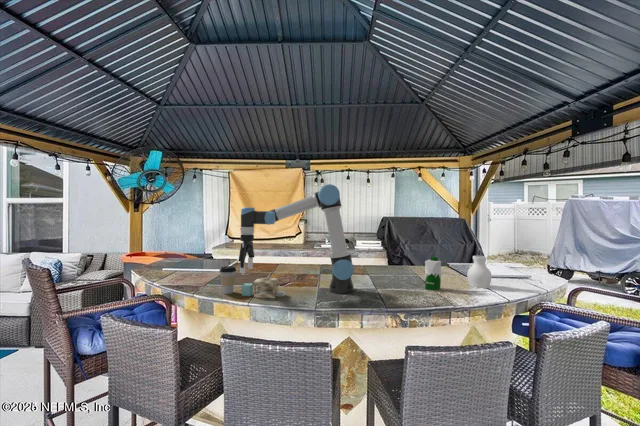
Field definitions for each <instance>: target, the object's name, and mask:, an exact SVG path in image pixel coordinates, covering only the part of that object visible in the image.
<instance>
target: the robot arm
mask: <svg viewBox="0 0 640 426" xmlns="http://www.w3.org/2000/svg"><path fill="white" fill-rule="evenodd" d="M340 195H341V193H340V190H339V188H338V187H337V186H336V185H335V184H330V183H329V184H328V183H327V184H324V185H322V186H321V187H320V188H319V190H318V191H316V192H315V193H313V195H310V196H307V197H305V198H302V199H300V200H296V201H294V202H291V203H288V204H285V205H283V206H279V207H277V208H272V209H271V210H268V211H266V210H265V211H264V210H259V211H257V210H255V207H247V206H245V207H241V209H240V210H241V211H240V228H239V230H240V236H239V237H240V239H239V240H240V241H241V242H242V243H241V244H240V249H239V255H238V260H237V261H238V262H239V274H246V261H245V260H246V258H247V255H248V258H247V269H248V270H250V269H251V270H253V267H254V258H255V251H254V242H253V241H254V240H255V235H254V234H255V225H275V223H276V222H278V221H281V220H283V219H286V218H289V217H292V216H295V215H298V214H301V213H304V212H307V211H309V210H312V209H315V208H320V209H321V211H322V212H324V217H325V220H326V221H325V222H326V227H327V231H328V237H329V242H330V247H331V255H330V262H331V267H332V271H331V272H332V273H331V280H330V284H329V287H328V289H329V292H331V293H333V294H339V295H340V294H351V293H353V292H354V291H355V288H354V283H353V280H352V276H353V274H354V271H355V267H354V264H353V261H352V254H351V252H349V251H348V248H347V243H346V238H345V231H344V227H343V221H342V216H341V211H340V209H341V208H342V202H341V196H340Z"/></svg>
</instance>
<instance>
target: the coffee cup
mask: <svg viewBox="0 0 640 426" xmlns="http://www.w3.org/2000/svg"><path fill="white" fill-rule="evenodd" d="M236 271H237V268H236V267H235V266H233V265H228V266H227V265H226V266H221V267H220V269H219V273H220V282H221V290H222V294H224V295H230V294H234V288H235V283H236V282H235V280H236Z"/></svg>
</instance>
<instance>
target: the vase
mask: <svg viewBox="0 0 640 426" xmlns="http://www.w3.org/2000/svg"><path fill="white" fill-rule="evenodd" d="M472 261H473V263H472V265H471V266H470V267H469V269H468V270H467V274H466V275H467V280H468V286H469V285H470V286H473V287H477V288H476V289H479V288H488V289H490V286H491V282H492V273H491V271H490V269H489V268H488V267H487V266H486V261H487V256H485V255H472ZM470 286H469V287H470ZM473 287H472V288H473Z"/></svg>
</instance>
